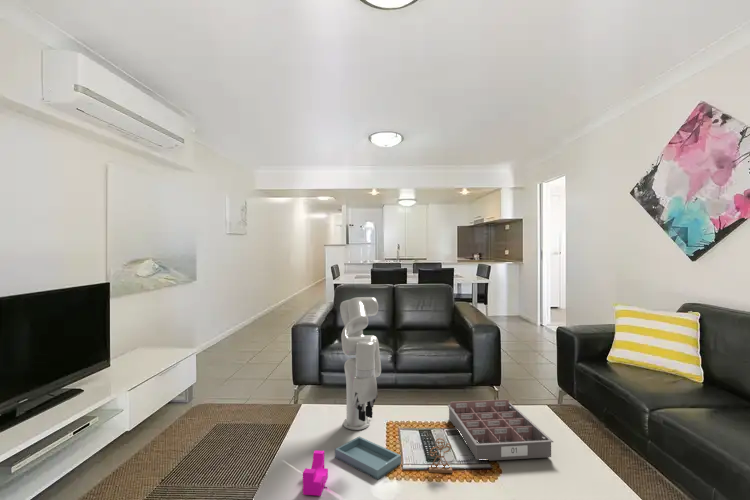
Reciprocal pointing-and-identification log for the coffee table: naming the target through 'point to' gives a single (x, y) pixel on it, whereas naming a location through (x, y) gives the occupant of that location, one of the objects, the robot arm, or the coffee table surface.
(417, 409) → the coffee table surface
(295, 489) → the coffee table surface
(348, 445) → the slate tray
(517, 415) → the organizer tray
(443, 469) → the wooden figure on stand
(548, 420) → the coffee table surface
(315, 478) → the toy block
